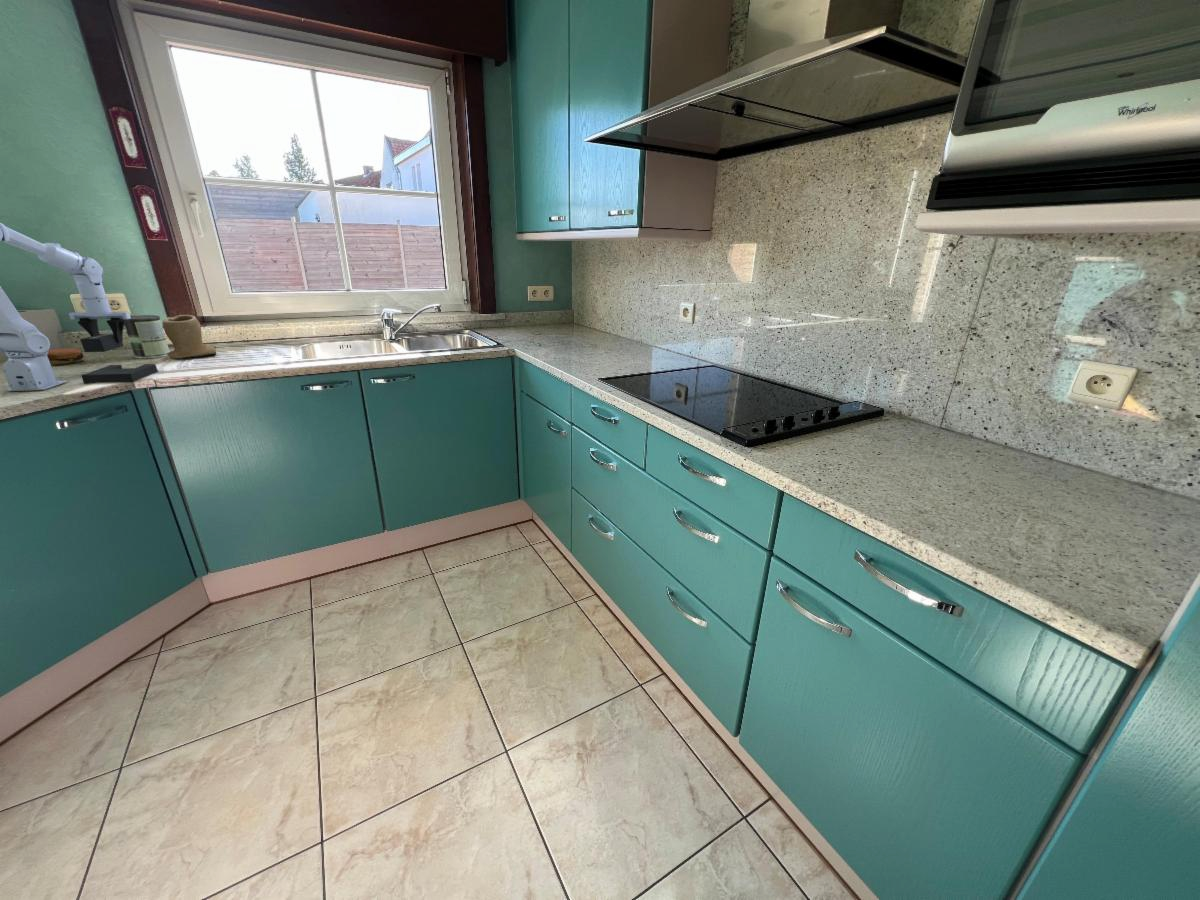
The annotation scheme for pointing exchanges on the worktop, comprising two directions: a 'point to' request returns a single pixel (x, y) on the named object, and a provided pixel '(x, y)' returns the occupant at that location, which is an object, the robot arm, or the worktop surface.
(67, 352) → the burger
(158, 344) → the coffee can
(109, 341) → the pad
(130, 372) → the notch pad
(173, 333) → the tan suede boot
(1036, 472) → the worktop surface
